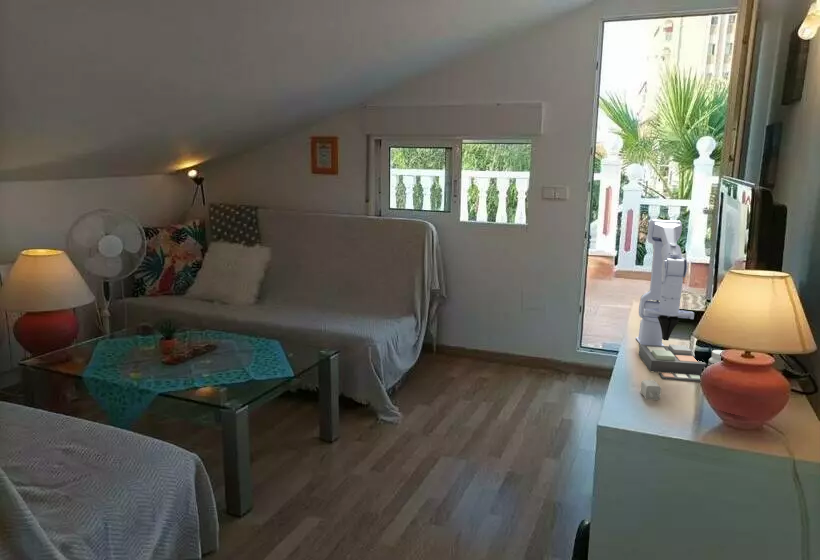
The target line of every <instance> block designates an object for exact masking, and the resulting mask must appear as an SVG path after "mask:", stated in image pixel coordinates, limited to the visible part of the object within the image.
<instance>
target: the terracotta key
mask: <svg viewBox="0 0 820 560" xmlns="http://www.w3.org/2000/svg"><path fill="white" fill-rule="evenodd" d="M675 357H676V358H677V359H678V360H679V361H689V362H698V361H697V360H696V359H695V358H694V357H693V356H685V355H675Z"/></svg>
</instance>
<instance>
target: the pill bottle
mask: <svg viewBox="0 0 820 560" xmlns="http://www.w3.org/2000/svg"><path fill="white" fill-rule="evenodd" d="M722 351H724V350H721V349H713V350H712V351H711V357H710V358H709V359H708V363H707V366H708V365H711V364H713V363H716V362H719V361H721V356H720V353H721V352H722Z"/></svg>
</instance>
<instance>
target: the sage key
mask: <svg viewBox="0 0 820 560" xmlns="http://www.w3.org/2000/svg"><path fill="white" fill-rule="evenodd" d="M652 355H653V356H654V358H655V359H660V360H674V361H675V356H674V355H673V354H672V352H671V351H664V350H652Z"/></svg>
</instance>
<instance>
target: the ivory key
mask: <svg viewBox="0 0 820 560" xmlns="http://www.w3.org/2000/svg"><path fill="white" fill-rule="evenodd" d="M647 349H648V350H649V351H650V352H652V350H664V351H666V350H665V348H663V347H648V346H647Z"/></svg>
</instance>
